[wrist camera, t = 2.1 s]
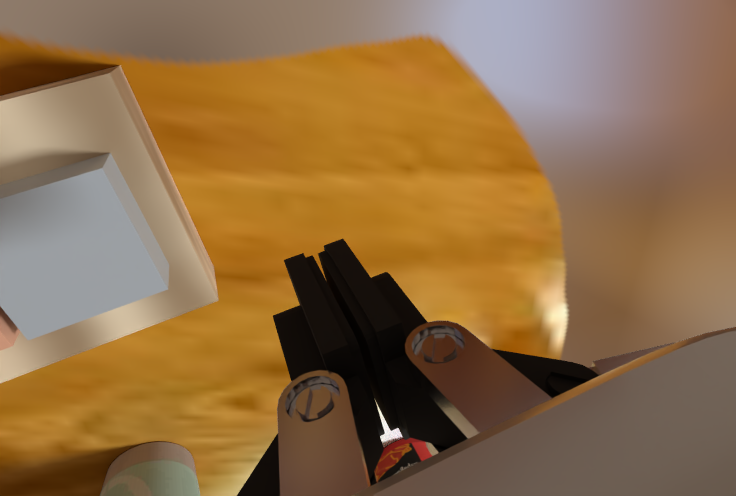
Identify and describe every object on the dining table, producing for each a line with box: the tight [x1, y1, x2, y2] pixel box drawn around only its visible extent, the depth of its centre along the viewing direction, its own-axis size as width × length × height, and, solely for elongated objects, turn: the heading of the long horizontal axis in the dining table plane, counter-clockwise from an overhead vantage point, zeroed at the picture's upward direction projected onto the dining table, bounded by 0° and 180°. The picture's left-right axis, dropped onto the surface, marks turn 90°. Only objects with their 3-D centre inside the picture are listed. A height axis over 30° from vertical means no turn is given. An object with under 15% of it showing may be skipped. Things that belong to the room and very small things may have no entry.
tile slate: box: [0, 153, 169, 340], centre depth 19 cm, size 6×6×2 cm
